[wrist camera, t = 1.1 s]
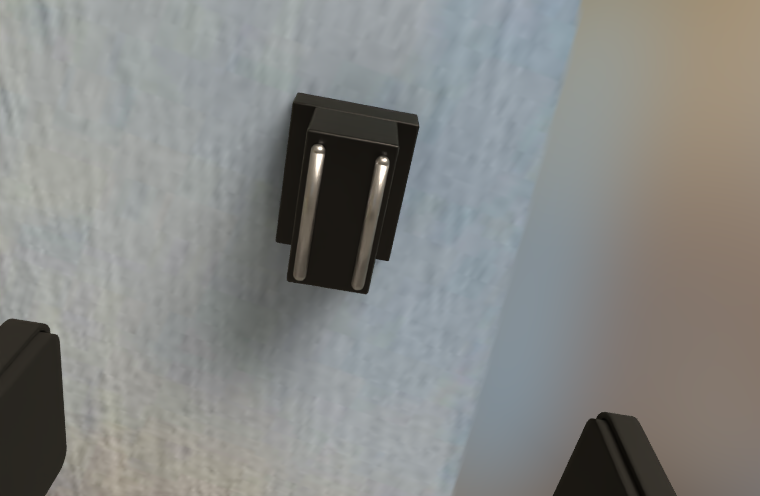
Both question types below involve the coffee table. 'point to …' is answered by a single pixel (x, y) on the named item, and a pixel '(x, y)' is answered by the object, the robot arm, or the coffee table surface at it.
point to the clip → (342, 189)
